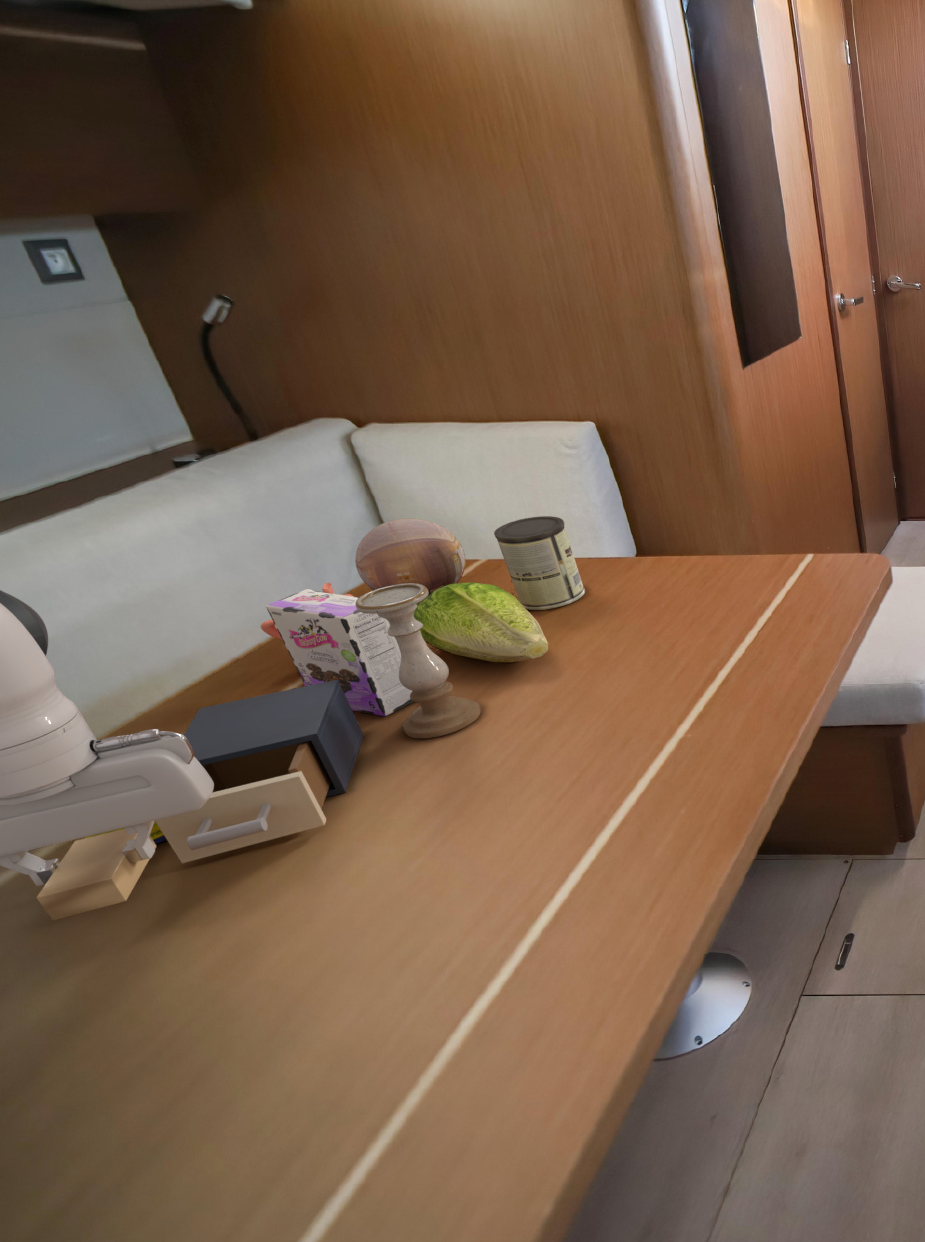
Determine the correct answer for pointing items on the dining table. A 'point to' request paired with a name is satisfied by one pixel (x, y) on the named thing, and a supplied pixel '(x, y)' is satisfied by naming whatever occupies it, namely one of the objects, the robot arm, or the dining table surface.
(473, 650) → the lettuce
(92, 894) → the wooden rectangular block
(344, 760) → the cabinet
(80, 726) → the robot arm
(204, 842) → the drawer
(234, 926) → the dining table surface
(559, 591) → the coffee can
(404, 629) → the candle holder
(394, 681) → the candy box
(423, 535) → the ornament
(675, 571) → the dining table surface
